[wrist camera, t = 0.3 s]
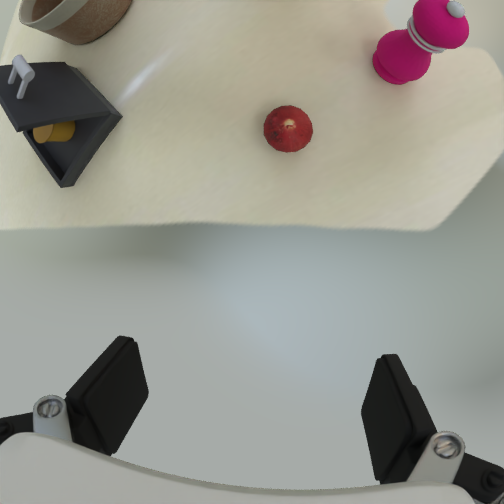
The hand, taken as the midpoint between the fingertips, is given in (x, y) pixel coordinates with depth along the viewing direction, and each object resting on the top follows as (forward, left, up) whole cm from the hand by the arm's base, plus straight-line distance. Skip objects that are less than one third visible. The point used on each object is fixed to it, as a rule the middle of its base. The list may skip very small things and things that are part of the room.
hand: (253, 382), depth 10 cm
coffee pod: (-16, -35, -30) cm, 49 cm away
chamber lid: (-20, -31, -20) cm, 42 cm away
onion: (-13, +1, -31) cm, 34 cm away
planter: (-40, -32, -31) cm, 60 cm away
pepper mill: (-25, +16, -31) cm, 43 cm away
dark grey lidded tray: (-17, -34, -31) cm, 49 cm away
